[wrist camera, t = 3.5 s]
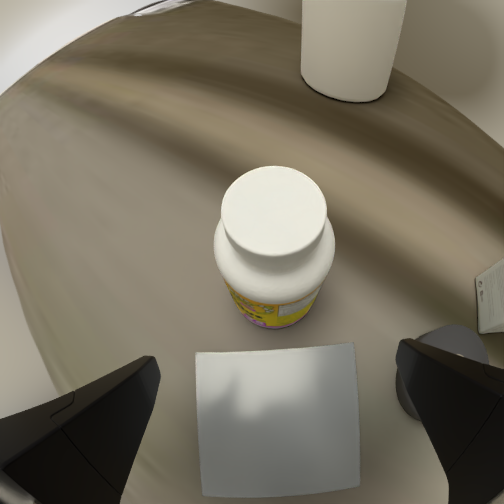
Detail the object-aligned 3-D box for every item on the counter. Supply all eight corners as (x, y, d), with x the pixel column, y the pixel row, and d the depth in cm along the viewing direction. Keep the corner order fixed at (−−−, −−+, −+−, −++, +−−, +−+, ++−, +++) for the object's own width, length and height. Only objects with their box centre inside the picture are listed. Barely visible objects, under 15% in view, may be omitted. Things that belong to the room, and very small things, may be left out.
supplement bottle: (221, 274, 26) (178, 182, 14) (289, 241, 26) (298, 132, 15) (256, 345, 23) (237, 307, 11) (329, 306, 24) (378, 233, 12)
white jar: (283, 83, 36) (280, -52, 18) (322, 51, 40) (327, -56, 22) (370, 117, 33) (402, -29, 14) (394, 78, 36) (419, -33, 18)
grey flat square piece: (356, 481, 18) (359, 486, 16) (205, 491, 18) (202, 495, 17) (349, 344, 22) (353, 342, 21) (199, 353, 23) (195, 352, 22)
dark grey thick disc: (482, 360, 20) (502, 355, 17) (440, 436, 18) (459, 440, 15) (426, 314, 23) (443, 304, 20) (377, 392, 21) (391, 393, 18)
